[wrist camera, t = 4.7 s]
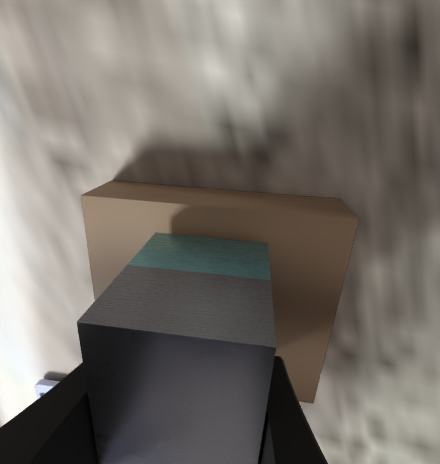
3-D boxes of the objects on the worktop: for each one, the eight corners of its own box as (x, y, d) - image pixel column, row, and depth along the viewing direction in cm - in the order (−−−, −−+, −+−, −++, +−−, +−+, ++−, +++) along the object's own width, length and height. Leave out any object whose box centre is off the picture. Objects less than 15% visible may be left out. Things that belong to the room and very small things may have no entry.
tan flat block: (305, 361, 16) (313, 403, 14) (125, 337, 17) (104, 373, 14) (340, 199, 12) (358, 219, 10) (111, 180, 13) (80, 195, 11)
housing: (251, 372, 12) (248, 524, 8) (159, 360, 13) (104, 497, 8) (267, 242, 10) (276, 347, 6) (155, 232, 11) (76, 322, 6)
